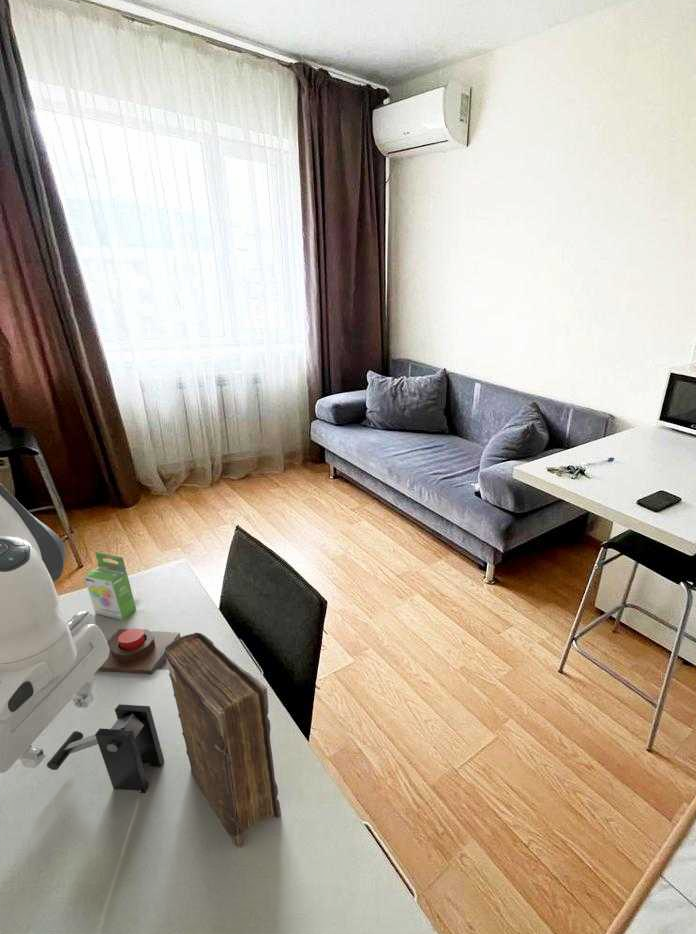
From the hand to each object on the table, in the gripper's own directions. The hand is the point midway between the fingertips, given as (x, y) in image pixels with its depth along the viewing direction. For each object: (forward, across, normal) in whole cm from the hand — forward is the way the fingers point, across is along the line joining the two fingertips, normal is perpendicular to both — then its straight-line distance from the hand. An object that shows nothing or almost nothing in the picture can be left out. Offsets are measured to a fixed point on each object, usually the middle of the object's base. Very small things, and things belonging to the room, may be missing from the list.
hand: (61, 731), depth 69 cm
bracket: (+10, 0, +9) cm, 13 cm away
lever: (+2, 0, +5) cm, 6 cm away
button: (+6, -24, -6) cm, 25 cm away
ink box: (+10, -36, -18) cm, 41 cm away
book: (+10, +1, +24) cm, 26 cm away
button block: (+9, -24, -6) cm, 26 cm away
